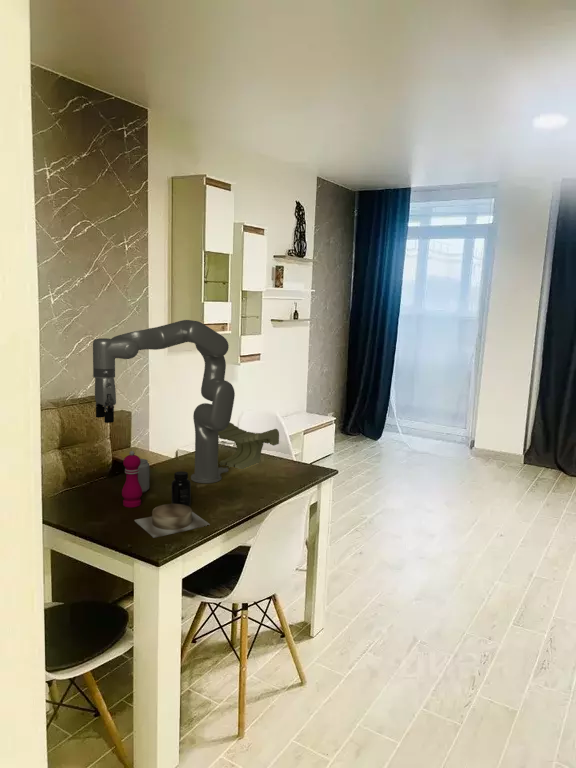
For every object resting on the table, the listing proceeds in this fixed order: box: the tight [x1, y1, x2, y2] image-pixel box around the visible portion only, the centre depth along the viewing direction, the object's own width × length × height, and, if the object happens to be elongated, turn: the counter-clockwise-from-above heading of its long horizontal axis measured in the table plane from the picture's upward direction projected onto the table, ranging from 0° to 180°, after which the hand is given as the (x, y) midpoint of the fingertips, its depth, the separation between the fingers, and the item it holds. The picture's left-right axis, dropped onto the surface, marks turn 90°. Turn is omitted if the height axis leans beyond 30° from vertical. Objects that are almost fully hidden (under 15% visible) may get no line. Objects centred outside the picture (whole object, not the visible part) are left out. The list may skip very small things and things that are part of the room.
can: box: [138, 458, 150, 494], centre depth 231 cm, size 8×8×12 cm
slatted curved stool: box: [218, 422, 280, 470], centre depth 271 cm, size 30×16×18 cm, turn 57°
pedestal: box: [134, 503, 211, 539], centre depth 201 cm, size 20×16×5 cm
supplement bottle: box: [171, 471, 192, 507], centre depth 217 cm, size 7×7×12 cm
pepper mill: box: [121, 450, 143, 508], centre depth 215 cm, size 7×7×20 cm
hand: (104, 419), depth 217 cm, fingers open, 9 cm apart
